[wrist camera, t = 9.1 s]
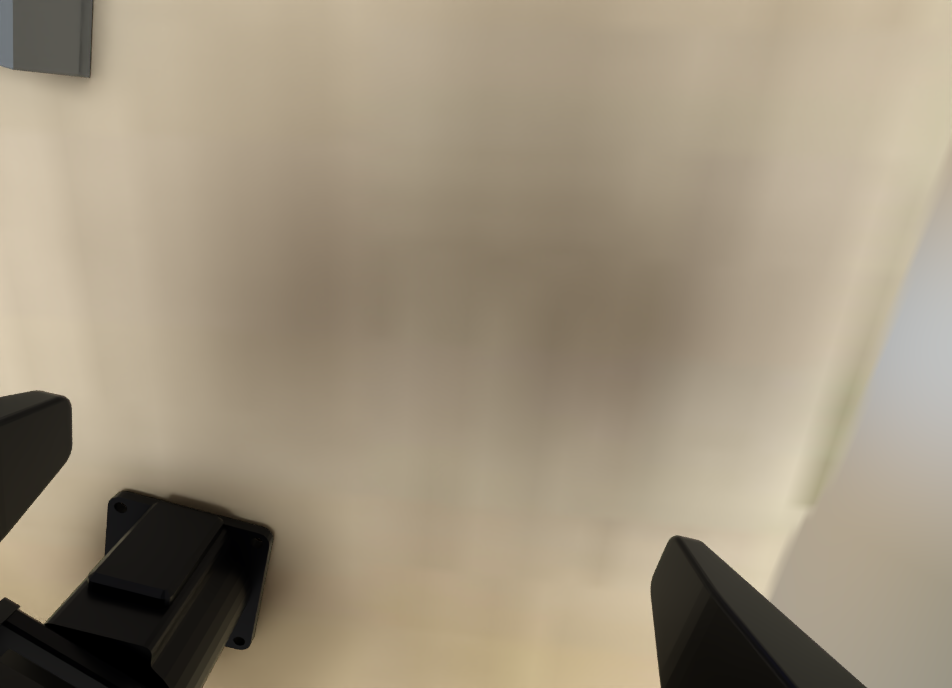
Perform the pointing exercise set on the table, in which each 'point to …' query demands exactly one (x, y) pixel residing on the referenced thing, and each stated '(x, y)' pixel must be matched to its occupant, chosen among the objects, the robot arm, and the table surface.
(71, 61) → the tray
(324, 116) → the table surface
